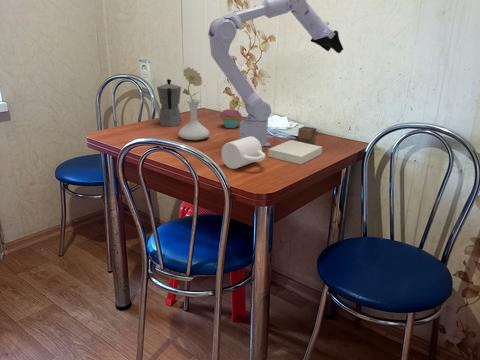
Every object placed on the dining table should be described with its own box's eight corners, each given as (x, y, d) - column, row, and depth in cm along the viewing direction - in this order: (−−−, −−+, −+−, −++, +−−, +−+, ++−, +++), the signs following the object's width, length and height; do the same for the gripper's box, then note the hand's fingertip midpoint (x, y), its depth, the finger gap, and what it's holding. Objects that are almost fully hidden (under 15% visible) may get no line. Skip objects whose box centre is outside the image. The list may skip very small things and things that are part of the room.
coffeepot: (159, 120, 178) (157, 76, 171) (181, 120, 179) (180, 76, 173) (158, 129, 164) (156, 82, 157) (182, 129, 165) (181, 82, 159)
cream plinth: (300, 164, 130) (301, 156, 129) (268, 156, 137) (268, 149, 136) (321, 153, 141) (322, 146, 140) (290, 146, 147) (290, 139, 146)
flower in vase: (215, 140, 153) (215, 69, 143) (186, 144, 147) (184, 70, 138) (199, 131, 163) (198, 64, 154) (171, 135, 157) (169, 66, 148)
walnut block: (308, 147, 147) (310, 130, 145) (297, 145, 150) (298, 128, 148) (314, 144, 151) (316, 128, 148) (303, 142, 153) (304, 126, 151)
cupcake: (244, 126, 172) (245, 96, 168) (233, 130, 165) (234, 100, 161) (227, 123, 176) (227, 94, 172) (215, 127, 170) (215, 97, 165)
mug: (220, 165, 128) (221, 140, 125) (242, 158, 135) (243, 133, 132) (251, 175, 121) (252, 148, 118) (272, 167, 128) (273, 141, 125)
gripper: (330, 12, 133) (354, 42, 139) (309, 11, 146) (332, 39, 152) (315, 30, 133) (340, 59, 140) (295, 27, 146) (319, 54, 153)
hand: (335, 50), depth 146 cm, fingers open, 7 cm apart
